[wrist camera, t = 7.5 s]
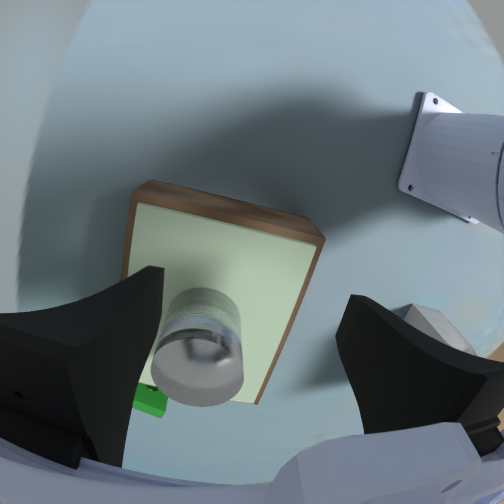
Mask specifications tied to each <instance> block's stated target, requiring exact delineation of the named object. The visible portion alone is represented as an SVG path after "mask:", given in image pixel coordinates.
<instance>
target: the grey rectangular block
mask: <svg viewBox="0 0 504 504" xmlns="http://www.w3.org/2000/svg"><path fill="white" fill-rule="evenodd" d="M403 320H404V321H405V322H407V323H409V324H410V325H412V326H413V327H415V328H417V329H418V330H420V331H421V332H423V333H425V334H427V335H428V336H430V337H432V338H434V339H436V340H438V341H440V342H442V343H444V344H446V345H449V346H451V347H453V348H456V349H458V350H461V351H463V352H466V353H469V354H472V355H475V356H477V355H476V353H475V351H474V349H473V347H472V345H471V344H470V343H469V342H468V341H467V340H466V339H465V338H464V337H463V335H462V334H461V333H460V332H459V331H458V330H457V329H456V328H455V327H454V326H453V325H452V324H451V323H450V321H449V320H448V319H447V318H446V317H445V316H444V315H443V314H442V313H441V312H440V311H439V310H436V309H432V308H428V307H424V306H421V305H417V304H413V303H412V305H411V307H410V309H409V311H408V312H407V314H406V316H405V318H404V319H403Z"/></svg>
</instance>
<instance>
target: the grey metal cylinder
mask: <svg viewBox="0 0 504 504" xmlns="http://www.w3.org/2000/svg"><path fill="white" fill-rule="evenodd" d="M151 376H152V379H153V381H154V383H155V385H156V386H157V388H158V389H159V390H160V391H161V392H162V393H164V394H165V395H166V396H168V397H169V398H171V399H173V400H175V401H177V402H179V403H182V404H186V405H190V406H199V407H206V406H214V405H218V404H221V403H224V402H226V401H228V400H230V399H231V398H233V397H234V396H235V395H236V394H237V393H238V392H239V391H240V389H241V387H242V385H243V382H244V370H243V353H242V336H241V318H240V313H239V310H238V307H237V306H236V304H235V303H234V302H233V300H232V299H230V298H229V297H228V296H227V295H225V294H224V293H222V292H220V291H218V290H215V289H211V288H204V287H198V288H191V289H188V290H185V291H183V292H181V293H180V294H178V295H177V296H176V297H175V298H174V299H173V300H172V301H171V303H170V305H169V307H168V310H167V313H166V316H165V319H164V323H163V326H162V329H161V332H160V336H159V339H158V342H157V346H156V349H155V353H154V356H153V359H152V363H151Z"/></svg>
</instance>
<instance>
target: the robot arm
mask: <svg viewBox="0 0 504 504" xmlns="http://www.w3.org/2000/svg"><path fill="white" fill-rule="evenodd" d="M433 99H435V104H434V103H433ZM410 184H411V189H410V190H408V186H409V185H410ZM398 188H399V190H400V191H402V192H404V193H407V194H409V195H412V196H414V197H416V198H419V199H421V200H423V201H426V202H428V203H430V204H432V205H435V206H437V207H439V208H441V209H444V210H446V211H448V212H450V213H452V214H454V215H456V216H458V217H461V218H463V219H465V220H467V221H469V222H471V223H473V224H478V223H479V221H480V222H482V223H484V224H486V225H488V226H490V227H492V228H494V229H496V230H498V231H499V232H501V233H503V234H504V116H500V115H487V114H470V113H463V112H461V111H460V110H458V109H457V108H455V107H454V106H452V105H451V104H449V103H448V102H446V101H445V100H443V99H441V98H440V97H438V96H437V95H435V94H433V93H432V92H425V93H424V94H423V98H422V102H421V106H420V110H419V114H418V117H417V121H416V125H415V129H414V132H413V136H412V139H411V143H410V146H409V150H408V153H407V156H406V160H405V163H404V166H403V169H402V172H401V175H400V178H399V181H398ZM164 272H165V268H162V267H156V266H150V265H148V266H146V267H144V268H143V269H141V270H139V271H138V272H136V273H134V274H133V275H131V276H129V277H128V278H126V279H124V280H122V281H121V282H119V283H117V284H115V285H113V286H111V287H109V288H107V289H105V290H103V291H101V292H99V293H97V294H95V295H92V296H90V297H87V298H84V299H82V300H79V301H76V302H72V303H69V304H65V305H61V306H58V307H54V308H49V309H44V310H37V311H31V312H20V313H0V504H499V503H501V502H502V501H503V500H504V429H503V430H502V431H501V432H500V431H499V430H498V428H497V426H499V424H500V420H499V418H498V417H497V415H498V414H499V413H500V412H501V410H502V409H503V408H504V362H498V361H494V360H489V359H485V358H482V357H478V356H475V355H472V354H469V353H466V352H463V351H461V350H458V349H456V348H453V347H451V346H449V345H446V344H444V343H442V342H440V341H438V340H436V339H434V338H432V337H430V336H428V335H427V334H425V333H423V332H421V331H420V330H418V329H417V328H415V327H413V326H412V325H410V324H409V323H407V322H405V321H404V320H402V319H401V318H399V317H398V316H396V315H395V314H393V313H392V312H391V311H389V310H388V309H386V308H385V307H383V306H382V305H380V304H378V303H377V302H375V301H374V300H372V299H370V298H368V297H366V296H362V295H353V294H351V296H350V298H349V301H348V304H347V307H346V309H345V312H344V315H343V317H342V320H341V323H340V325H339V328H338V330H337V333H336V335H335V337H336V342H337V347H338V351H339V355H340V358H341V361H342V364H343V366H344V369H345V371H346V374H347V377H348V379H349V382H350V384H351V387H352V389H353V392H354V395H355V397H356V400H357V403H358V406H359V410H360V415H361V419H362V423H363V428H364V434H363V435H351V436H347V437H342V438H337V439H332V440H326V441H323V442H321V443H318V444H316V445H314V446H312V447H309V448H307V449H304V450H302V451H300V452H299V453H297V454H296V455H295V456H294V457H293V458H292V459H291V460H289V461H288V462H287V463H286V464H285V465H284V466H283V467H282V468H281V469H280V471H279V472H278V474H277V476H276V477H275V479H274V480H273V482H264V483H256V484H246V485H228V484H215V483H204V482H195V481H187V480H180V479H173V478H167V477H161V476H155V475H150V474H145V473H140V472H136V471H131V470H127V469H123V468H122V461H123V454H124V448H125V442H126V436H127V430H128V425H129V420H130V415H131V410H132V406H133V402H134V397H135V393H136V389H137V386H138V383H139V380H140V377H141V374H142V372H143V369H144V367H145V364H146V361H147V359H148V356H149V354H150V351H151V349H152V346H153V344H154V341H155V339H156V336H157V332H158V328H159V325H160V320H161V316H162V304H163V287H164Z"/></svg>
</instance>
